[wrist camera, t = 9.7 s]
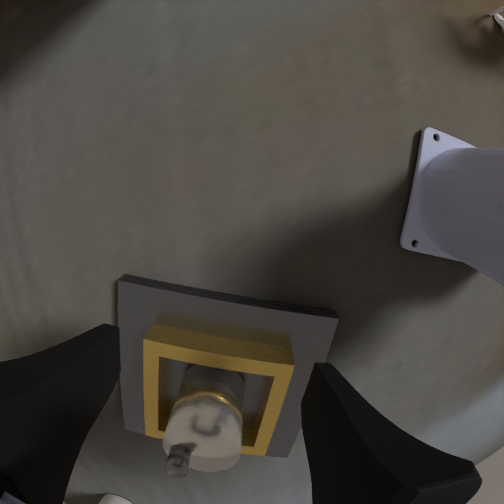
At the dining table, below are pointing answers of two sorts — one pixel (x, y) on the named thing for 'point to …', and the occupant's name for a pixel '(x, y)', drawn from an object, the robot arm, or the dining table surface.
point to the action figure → (498, 16)
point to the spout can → (205, 422)
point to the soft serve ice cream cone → (113, 500)
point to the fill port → (218, 355)
